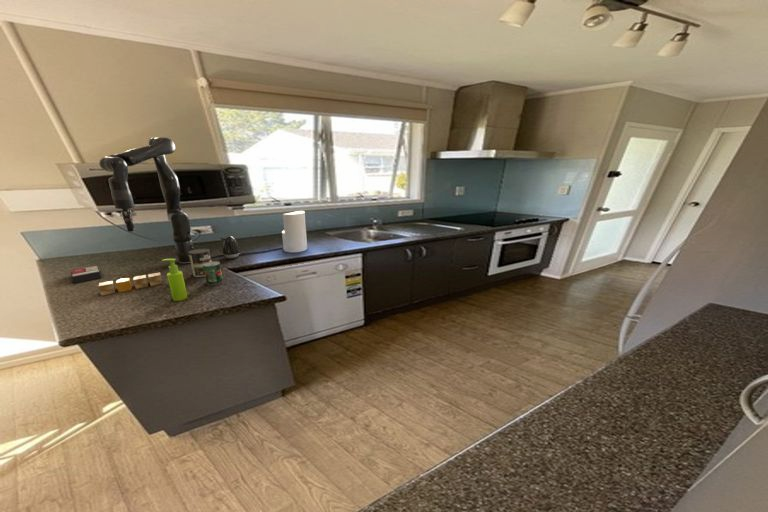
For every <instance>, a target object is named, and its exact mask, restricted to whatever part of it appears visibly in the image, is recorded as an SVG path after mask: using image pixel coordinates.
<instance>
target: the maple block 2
mask: <svg viewBox="0 0 768 512" xmlns="http://www.w3.org/2000/svg"><path fill="white" fill-rule="evenodd" d="M147 279H148V283H149V286H150V287H153V286H158V285H162V284H163V278H162V275H161V272H154V273H148V274H147Z"/></svg>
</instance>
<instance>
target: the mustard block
mask: <svg viewBox="0 0 768 512" xmlns="http://www.w3.org/2000/svg"><path fill="white" fill-rule="evenodd" d="M115 287H116V289H117V292H118V293H122V292H127V291H132V290H133V286H132V282H131V278H130V277H124V278H119V279H116V281H115Z"/></svg>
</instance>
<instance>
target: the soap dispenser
mask: <svg viewBox="0 0 768 512" xmlns="http://www.w3.org/2000/svg"><path fill="white" fill-rule="evenodd" d="M175 261H177V259H176V258H164V259H162V260H161V262H169V266H168V271H169V272H167V273H166V277H167V282H168V285H169V289H170V294H171V298H172V301H174V302H181V301H184V300H186V299H188V298H189V297H188V292H187V288H186V283H185V278H184V273H183V271H182V270H179V266H178V264H175Z"/></svg>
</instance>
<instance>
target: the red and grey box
mask: <svg viewBox="0 0 768 512" xmlns="http://www.w3.org/2000/svg"><path fill="white" fill-rule="evenodd" d="M70 278H71V280H72V283H73V284H77V283H83V282H87V281H91V280H97V279H102V278H103V277H102V274H101V270H100V268H99V266H97V265H94V266H88V267H82V268H77V269H71V271H70Z"/></svg>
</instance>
